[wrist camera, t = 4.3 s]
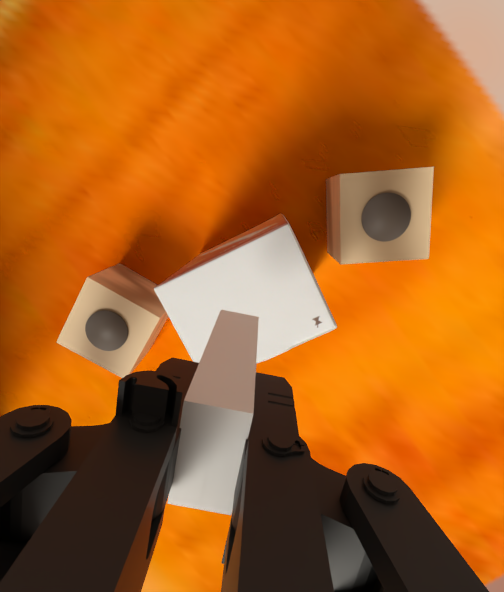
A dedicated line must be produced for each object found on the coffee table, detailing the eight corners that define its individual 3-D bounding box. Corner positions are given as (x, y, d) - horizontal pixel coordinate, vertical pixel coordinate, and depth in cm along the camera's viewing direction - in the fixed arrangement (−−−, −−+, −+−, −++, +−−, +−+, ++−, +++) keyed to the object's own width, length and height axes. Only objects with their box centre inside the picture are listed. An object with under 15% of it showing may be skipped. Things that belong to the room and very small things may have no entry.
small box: (281, 211, 30) (291, 219, 17) (312, 278, 31) (341, 330, 19) (196, 253, 31) (149, 288, 19) (230, 315, 33) (206, 388, 20)
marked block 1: (93, 317, 33) (54, 343, 27) (120, 263, 32) (85, 277, 26) (150, 349, 34) (124, 381, 28) (179, 296, 32) (159, 318, 26)
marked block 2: (327, 252, 31) (341, 264, 25) (325, 179, 29) (340, 173, 23) (398, 247, 30) (430, 259, 24) (400, 173, 29) (435, 166, 23)
